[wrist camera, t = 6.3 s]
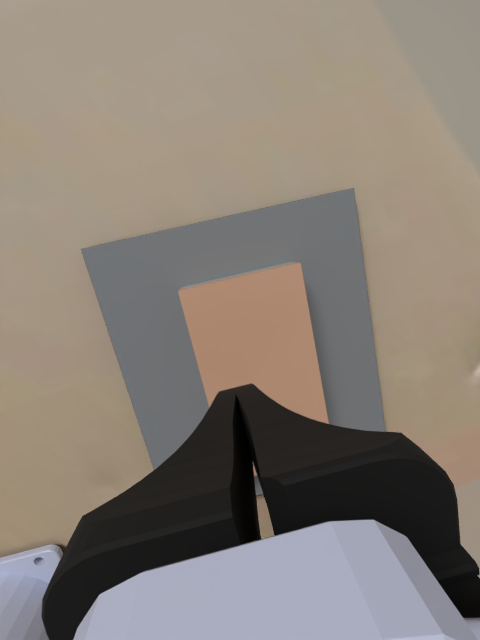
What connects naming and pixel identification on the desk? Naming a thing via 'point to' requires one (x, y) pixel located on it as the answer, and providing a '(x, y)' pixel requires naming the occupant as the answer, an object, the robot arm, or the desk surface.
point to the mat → (222, 261)
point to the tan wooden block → (257, 337)
